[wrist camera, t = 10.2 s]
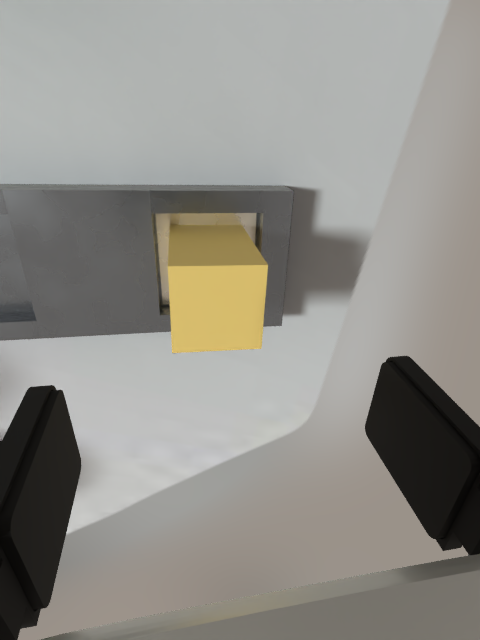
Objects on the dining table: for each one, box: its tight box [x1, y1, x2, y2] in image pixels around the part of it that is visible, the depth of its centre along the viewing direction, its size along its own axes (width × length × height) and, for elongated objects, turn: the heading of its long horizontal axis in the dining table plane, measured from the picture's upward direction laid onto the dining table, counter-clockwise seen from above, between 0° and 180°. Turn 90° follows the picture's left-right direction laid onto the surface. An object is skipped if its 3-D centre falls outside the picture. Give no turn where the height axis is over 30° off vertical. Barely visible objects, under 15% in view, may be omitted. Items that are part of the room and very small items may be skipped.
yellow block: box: [168, 225, 268, 353], centre depth 21 cm, size 4×4×8 cm
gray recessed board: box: [0, 184, 294, 340], centre depth 23 cm, size 9×24×2 cm, turn 88°
